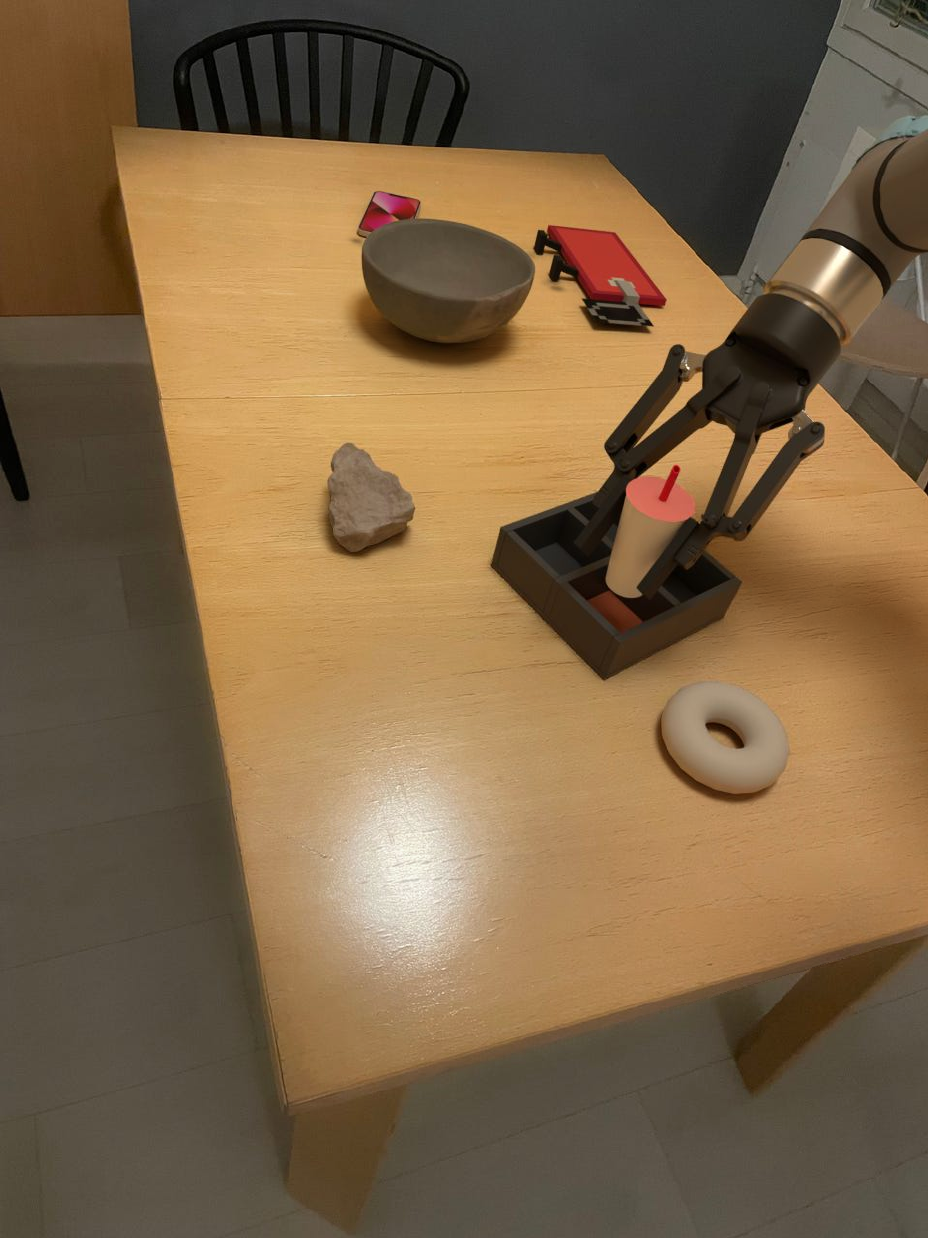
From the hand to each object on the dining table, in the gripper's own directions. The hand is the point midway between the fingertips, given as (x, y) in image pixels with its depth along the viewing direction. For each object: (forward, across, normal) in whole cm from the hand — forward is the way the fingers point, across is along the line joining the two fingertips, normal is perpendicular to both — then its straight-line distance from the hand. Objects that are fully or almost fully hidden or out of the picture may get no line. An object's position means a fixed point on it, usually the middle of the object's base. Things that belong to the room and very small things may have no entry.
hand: (612, 571), depth 67 cm
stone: (+9, +23, -4) cm, 25 cm away
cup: (0, 0, -5) cm, 5 cm away
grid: (+1, +3, -12) cm, 12 cm away
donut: (+6, -13, -7) cm, 16 cm away
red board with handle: (-36, +44, -50) cm, 75 cm away
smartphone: (-25, +71, -39) cm, 85 cm away
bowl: (-13, +45, -27) cm, 54 cm away
